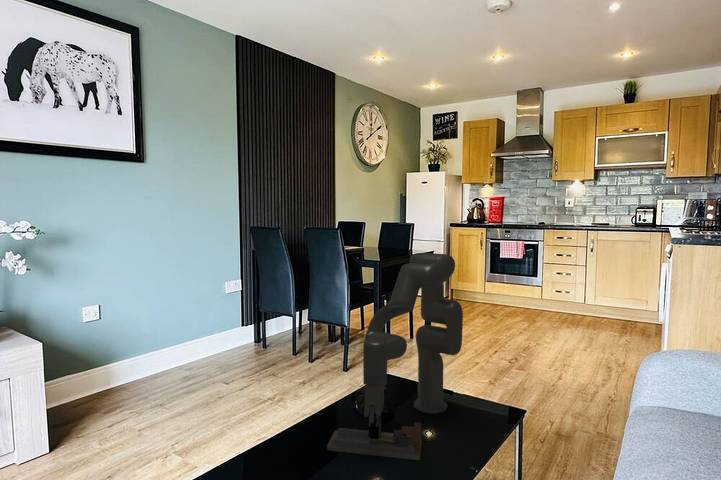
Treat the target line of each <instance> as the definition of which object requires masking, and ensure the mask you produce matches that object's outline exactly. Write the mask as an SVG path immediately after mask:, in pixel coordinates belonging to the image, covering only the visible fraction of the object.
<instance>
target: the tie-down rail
mask: <svg viewBox="0 0 721 480" xmlns="http://www.w3.org/2000/svg"><path fill="white" fill-rule="evenodd" d="M400 430H401V434H407V437H406V439H405V438H396V444H387V443H377V442H369V430H366V429H364V430H363V429H353V428H343V427H338V429H336V430H334V432H333V434H331V435H332V436H331V437H330V439H329V442H328V443H327V445H326V451H331V452H340V453H348V454H349V453H350V454H351V453H352V454H360V455H367V456H377V457H385V458H395V459H405V460H412V461H420V460H421V452H422V451H421V450H422V445H423V440H422V423H421V422H414V425H413V426H409V425H401V429H400ZM381 432H382V433H387V432H383V431H381ZM391 433H392V434H394V432H391Z"/></svg>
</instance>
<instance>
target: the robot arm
mask: <svg viewBox="0 0 721 480" xmlns="http://www.w3.org/2000/svg"><path fill="white" fill-rule="evenodd" d="M455 270H456V261H455V258H454V257H453V256H452V255H450V254H446V253H431V252H416V253H413V254H412V255H410V258H409V263H405V264H403V265H402V266H401V268H400V270H399V272H398V276H397V278H396V281H395V285H394V287H393V290H392V293H391V297H390V299H389V301H388V302H387V303H386V304H384V306H382V307H381V308H380V309H379V310H378V311H377V312H376V313H375V314H374V315H373V316H372V318H371V319H370V321H369V324H368V326H367V330H366V333H365V338H364V341H363V345H362V348H363V349H362V350H363V351H362V352H363V358H362V359H363V360H362V361H363V363H362V365H363V375H362V376H363V377H362V379H363V385H365V389H364V390H365V391H364V409H363V411H364V412H363V416H364V418H368V431H369V438H373V439H379V426H378V418H381V412H382V409H383V406H384V405H385V386H386V385H387V384H388V361H391V360H396V359H400V358H401V357H403V356H404V355H405V353H406V352H407V347H408V344H407V341H406V339H405V337H403V336H401V335H398V334H393V333H389V332H383V328H384V327H385V326H386V324H387V323H388V322H389V321H391V320H392V319H394V318H397V317H399V316H400V317H401V316H403V315H405V314H409V313H411V312H412V311H413V310H414V309H415V304H416V302H417V298H418V295H419V292H421V294H420V316H421V319H422V320H424V321H425V322H428V323H432V324H439V325H444V326H445V327H441V326H439V325H438V326H437V325H432V324H431V325H430V324H425V325H422V326H420V327H418V329H417V330H416V334H415V343H416V348H417V365H418V367H417V369H418V370H417V371H418V372H417V375H418V376H417V378H418V379H417V395H418V396H417V399H415V400H414V402H413V407H414V409H416V410H417V411H419V412H421V413H424V414H440V413H444V412H446V410H447V409H448V404H447V403H448V402H446V401H445V400H444V359H443V357H442V355H441V354H443V355H446V356H447V355H449V356H457V355H458V354H460V352H461V349H462V345H463V324H464V323H463V322H464V313H463V306H462V305H461V303H460V302H458V300H454V299H449V298H445V295H444V293H445V290H444V283H445V282H446V281H448V280H449V279H450V278H451V277H452V275H453V274H454V272H455ZM420 290H421V291H420ZM374 419H376V421H375V420H374ZM382 422H383V421H382V419H381V431H382V428H383V427H382V424H383V423H382Z"/></svg>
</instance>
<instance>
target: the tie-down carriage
mask: <svg viewBox="0 0 721 480" xmlns="http://www.w3.org/2000/svg"><path fill="white" fill-rule="evenodd" d="M374 420H375V421H376V419H374ZM378 426H379V439H373V438H369V442H377V443H387V444H396V438H405V439H406V437H407V435H408V434H401V429H394V430H393V432H386V433H382V432H383V431H382V430H381V418H378ZM392 433H394V434H392Z"/></svg>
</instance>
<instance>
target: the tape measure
mask: <svg viewBox="0 0 721 480" xmlns="http://www.w3.org/2000/svg"><path fill="white" fill-rule="evenodd" d="M394 418H395V413H394V411H393V410H392V409H391V408H390V407H389V406H388V405H387V404H384V405H383V409H382V412H381V419H382V422H387V421H390V420H394Z"/></svg>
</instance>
